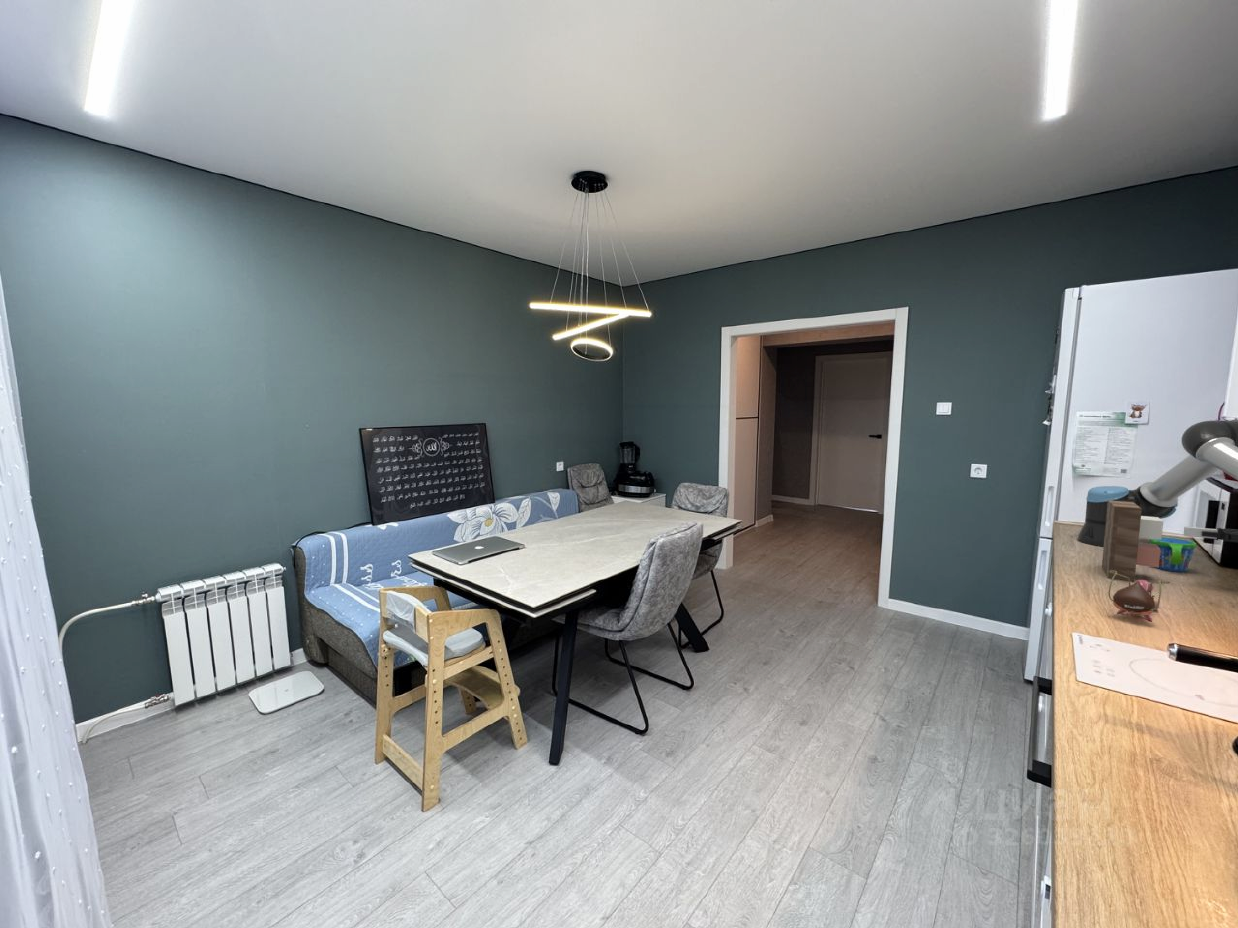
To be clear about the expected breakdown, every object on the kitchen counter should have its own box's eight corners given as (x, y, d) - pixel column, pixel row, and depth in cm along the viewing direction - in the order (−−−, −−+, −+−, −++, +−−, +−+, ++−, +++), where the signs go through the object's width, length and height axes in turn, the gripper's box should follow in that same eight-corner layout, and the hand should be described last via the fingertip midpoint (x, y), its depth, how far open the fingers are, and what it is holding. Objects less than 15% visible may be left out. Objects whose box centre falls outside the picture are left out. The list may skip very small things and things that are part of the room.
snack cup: (1146, 560, 177) (1149, 533, 176) (1191, 567, 170) (1194, 538, 168) (1147, 570, 166) (1150, 541, 165) (1195, 578, 159) (1198, 547, 158)
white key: (1134, 533, 162) (1135, 515, 162) (1156, 535, 159) (1158, 517, 159) (1138, 537, 157) (1140, 519, 156) (1161, 539, 154) (1163, 521, 153)
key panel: (1101, 567, 171) (1107, 500, 168) (1126, 570, 167) (1132, 501, 164) (1108, 578, 160) (1114, 506, 157) (1134, 582, 156) (1141, 508, 153)
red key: (1131, 559, 163) (1133, 541, 163) (1153, 561, 160) (1155, 544, 160) (1135, 564, 158) (1137, 546, 157) (1158, 567, 155) (1160, 548, 154)
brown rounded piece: (1176, 597, 134) (1174, 560, 126) (1165, 644, 128) (1163, 609, 121) (1118, 585, 143) (1113, 551, 135) (1106, 629, 138) (1100, 595, 130)
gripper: (1319, 560, 134) (1189, 547, 148) (1296, 550, 144) (1177, 538, 158) (1322, 534, 133) (1192, 523, 147) (1299, 525, 143) (1180, 515, 158)
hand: (1184, 531), depth 153 cm, fingers closed
